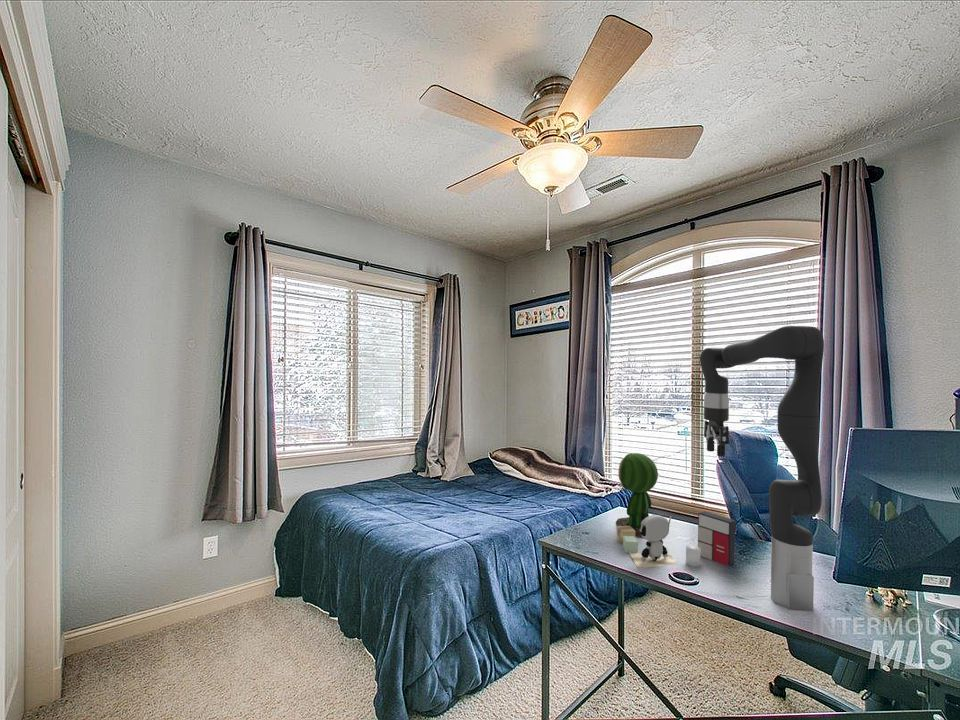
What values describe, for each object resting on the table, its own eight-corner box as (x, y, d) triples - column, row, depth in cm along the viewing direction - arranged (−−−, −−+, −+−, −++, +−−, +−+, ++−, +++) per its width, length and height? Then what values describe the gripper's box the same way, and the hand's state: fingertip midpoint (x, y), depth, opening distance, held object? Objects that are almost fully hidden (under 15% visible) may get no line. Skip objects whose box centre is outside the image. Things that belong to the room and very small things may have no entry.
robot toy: (662, 554, 154) (662, 510, 154) (672, 559, 150) (672, 515, 150) (634, 559, 150) (634, 515, 150) (643, 565, 146) (644, 519, 146)
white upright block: (702, 569, 144) (702, 551, 144) (688, 568, 145) (688, 550, 145) (697, 563, 149) (697, 545, 149) (683, 562, 149) (684, 544, 149)
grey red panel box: (696, 556, 154) (696, 512, 154) (703, 553, 156) (703, 510, 156) (728, 568, 145) (729, 522, 145) (735, 565, 147) (736, 520, 147)
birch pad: (683, 572, 142) (683, 571, 142) (637, 569, 143) (637, 568, 143) (671, 556, 154) (671, 554, 154) (629, 553, 155) (629, 552, 155)
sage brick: (637, 553, 156) (637, 541, 156) (626, 552, 156) (626, 541, 156) (634, 547, 161) (634, 536, 161) (622, 546, 161) (622, 535, 161)
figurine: (625, 516, 192) (626, 447, 191) (672, 529, 178) (673, 454, 178) (606, 527, 179) (606, 453, 179) (654, 541, 165) (655, 461, 165)
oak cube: (635, 544, 163) (635, 531, 163) (621, 544, 163) (622, 531, 163) (629, 539, 168) (629, 525, 168) (616, 539, 168) (617, 526, 168)
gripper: (737, 408, 144) (736, 458, 144) (718, 404, 158) (718, 449, 158) (713, 408, 145) (712, 458, 145) (696, 403, 159) (696, 449, 159)
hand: (715, 453), depth 151 cm, fingers open, 8 cm apart
